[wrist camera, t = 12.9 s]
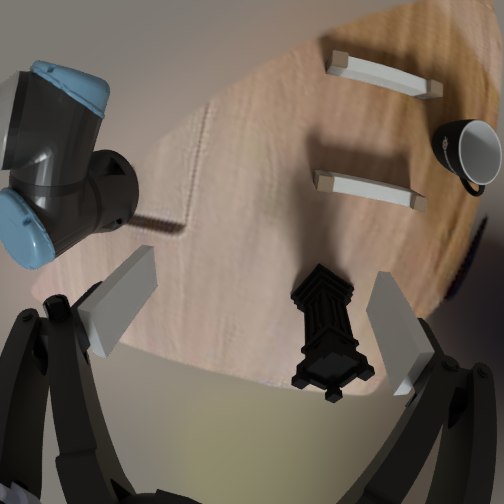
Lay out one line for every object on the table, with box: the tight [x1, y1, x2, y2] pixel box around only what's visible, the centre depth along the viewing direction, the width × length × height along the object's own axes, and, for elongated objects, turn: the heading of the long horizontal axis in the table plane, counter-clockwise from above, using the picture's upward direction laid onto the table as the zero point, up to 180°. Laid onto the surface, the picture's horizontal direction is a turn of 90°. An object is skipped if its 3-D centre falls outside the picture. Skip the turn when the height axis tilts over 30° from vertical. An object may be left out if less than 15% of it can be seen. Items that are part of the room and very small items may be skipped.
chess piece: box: [291, 264, 375, 403], centre depth 38 cm, size 8×8×20 cm
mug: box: [432, 119, 502, 197], centre depth 29 cm, size 12×9×10 cm
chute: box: [313, 50, 443, 212], centre depth 32 cm, size 16×19×6 cm
